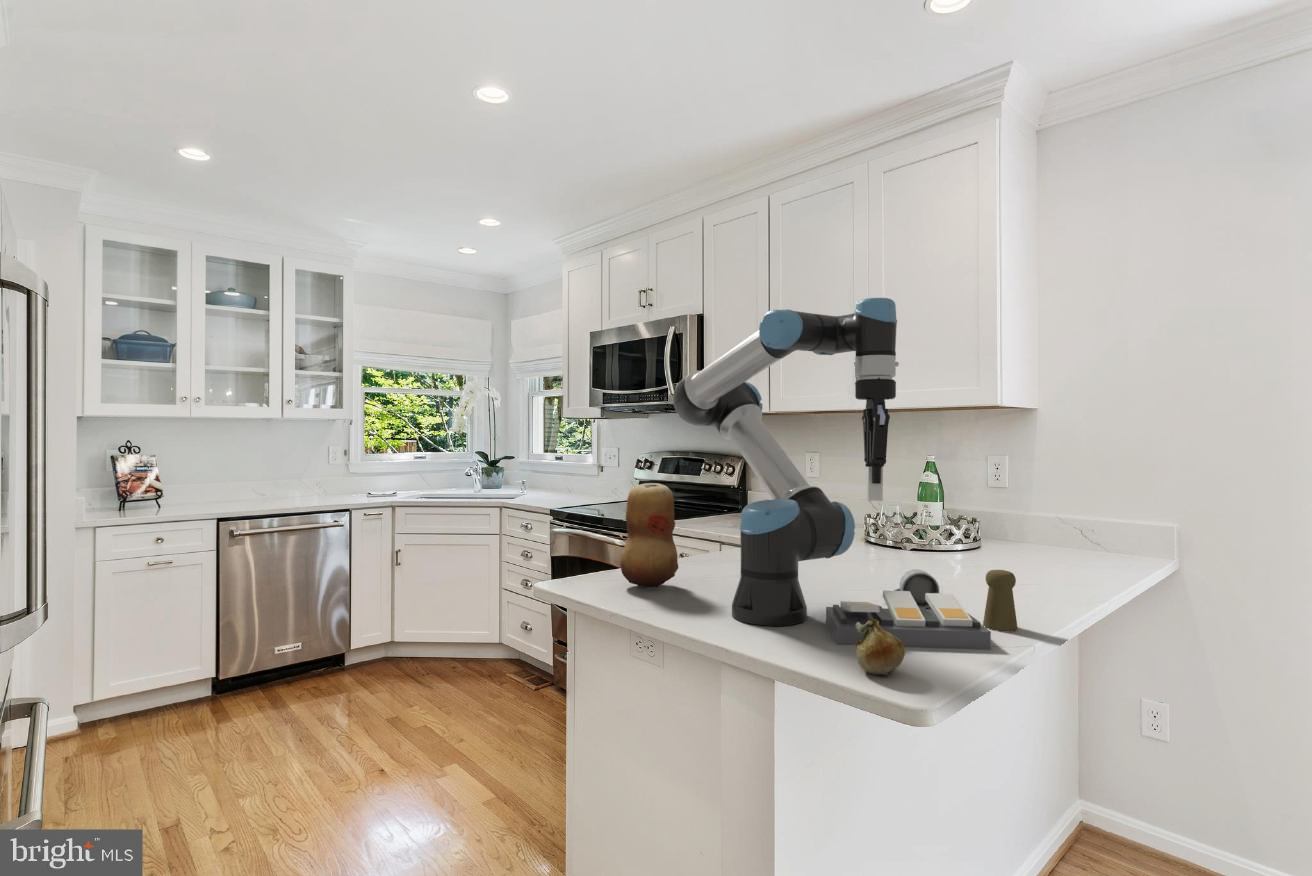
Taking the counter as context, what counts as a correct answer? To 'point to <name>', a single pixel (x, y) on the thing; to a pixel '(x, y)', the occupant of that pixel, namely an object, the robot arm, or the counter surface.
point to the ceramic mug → (918, 586)
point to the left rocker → (859, 606)
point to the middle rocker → (903, 608)
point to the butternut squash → (649, 536)
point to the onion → (878, 649)
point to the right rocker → (948, 609)
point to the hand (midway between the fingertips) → (874, 500)
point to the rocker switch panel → (908, 629)
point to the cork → (1000, 601)
